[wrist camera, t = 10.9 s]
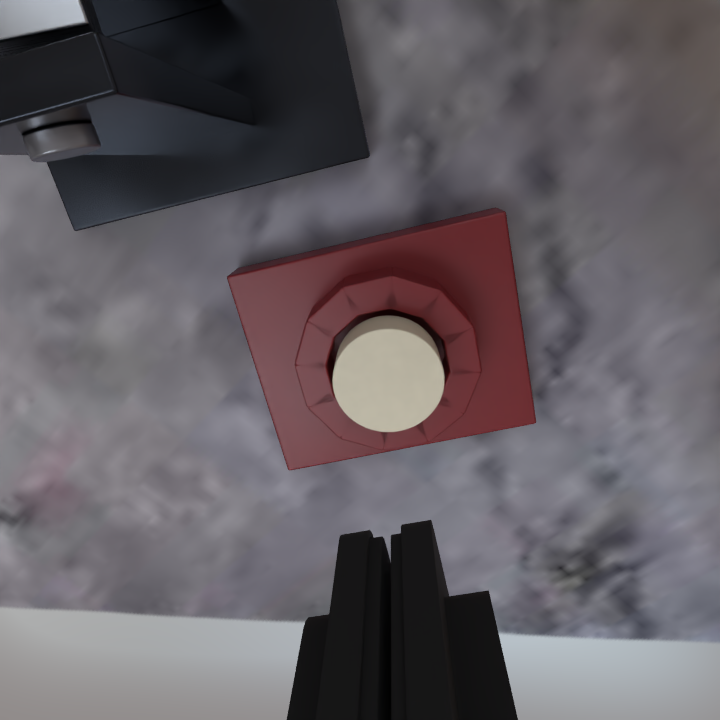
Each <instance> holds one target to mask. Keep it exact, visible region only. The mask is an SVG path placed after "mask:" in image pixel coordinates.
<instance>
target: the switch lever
mask: <svg viewBox="0 0 720 720" xmlns="http://www.w3.org/2000/svg"><path fill="white" fill-rule="evenodd" d="M93 31H94V32H98V33H101V34H103V33H102V30H101V27H100V24H99V21H98V18H97V15H96V12H95V9H94V6H93V4H92V1H91V0H0V59H1V58H5V57H8V56H11V55H15V54H18V53H22V52H25V51H28V50H32V49H35V48H39V47H42V46H45V45H49V44H52V43H56V42H59V41H62V40H66V39H69V38H73V37H76V36H79V35H83V34H86V33H90V32H93Z"/></svg>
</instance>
